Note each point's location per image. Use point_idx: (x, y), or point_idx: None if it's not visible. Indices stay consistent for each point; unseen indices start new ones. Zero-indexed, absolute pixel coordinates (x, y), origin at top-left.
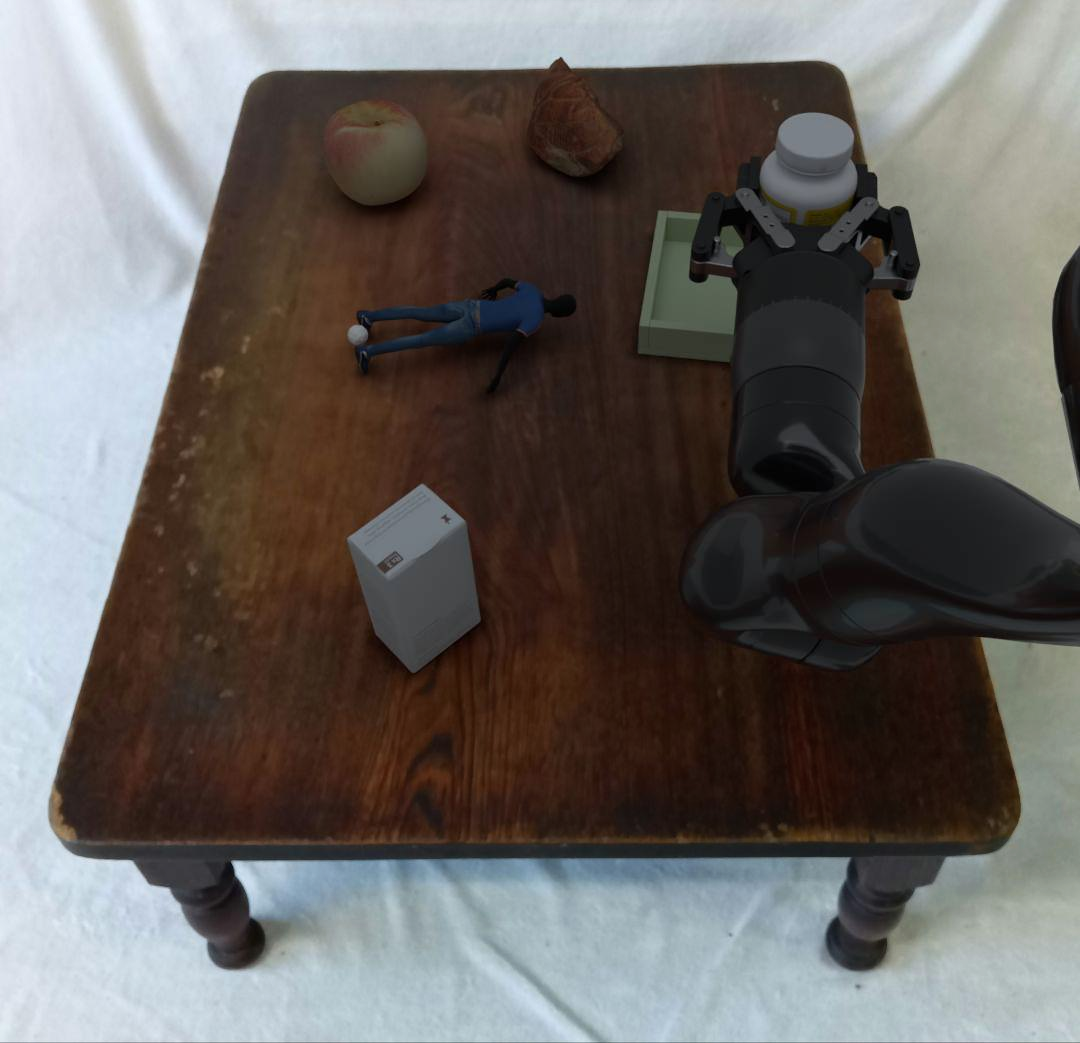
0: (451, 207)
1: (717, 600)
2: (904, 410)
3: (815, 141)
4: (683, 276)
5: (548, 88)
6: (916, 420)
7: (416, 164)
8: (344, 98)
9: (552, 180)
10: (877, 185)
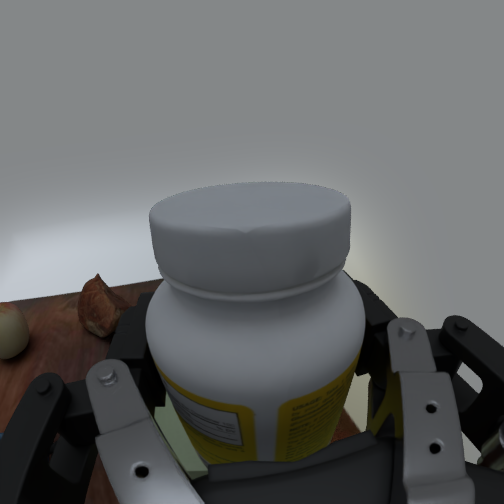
0: (39, 360)
1: None
2: None
3: (253, 204)
4: (168, 405)
5: (83, 287)
6: None
7: (13, 335)
8: (22, 307)
9: (92, 340)
10: (377, 296)
